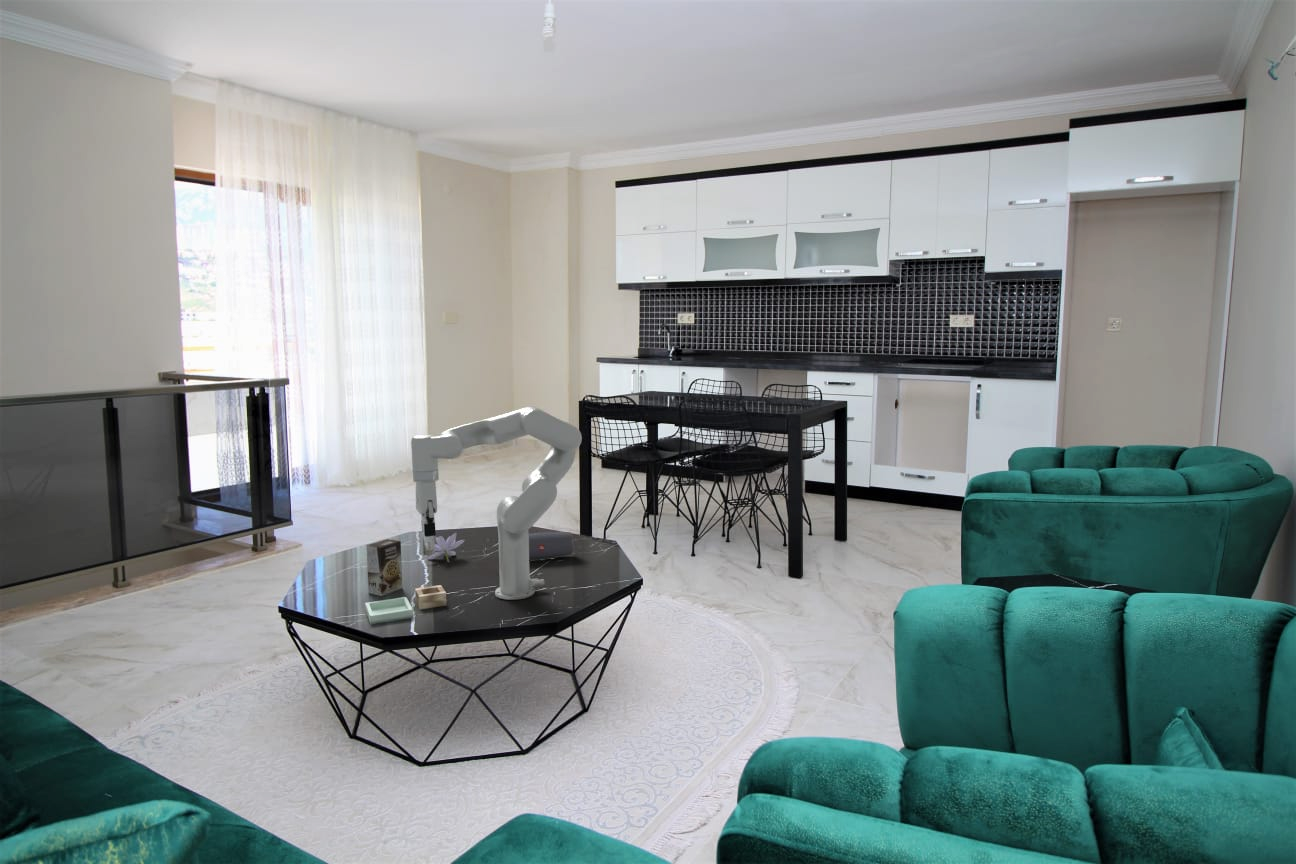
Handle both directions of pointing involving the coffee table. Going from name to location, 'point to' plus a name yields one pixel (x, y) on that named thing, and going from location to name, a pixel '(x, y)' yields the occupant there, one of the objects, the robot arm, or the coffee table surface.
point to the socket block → (430, 597)
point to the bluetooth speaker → (549, 545)
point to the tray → (388, 610)
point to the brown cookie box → (384, 567)
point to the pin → (427, 541)
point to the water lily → (446, 546)
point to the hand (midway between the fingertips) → (428, 533)
